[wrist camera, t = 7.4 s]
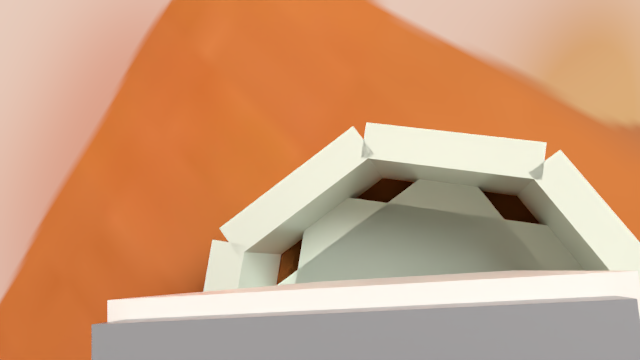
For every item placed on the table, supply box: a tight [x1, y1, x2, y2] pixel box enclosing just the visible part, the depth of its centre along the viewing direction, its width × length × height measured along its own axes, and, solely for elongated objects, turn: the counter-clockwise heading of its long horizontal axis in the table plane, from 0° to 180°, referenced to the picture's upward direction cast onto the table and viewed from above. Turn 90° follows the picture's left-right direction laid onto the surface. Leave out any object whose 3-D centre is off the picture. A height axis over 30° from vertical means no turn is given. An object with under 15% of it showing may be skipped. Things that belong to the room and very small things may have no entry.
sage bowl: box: [203, 122, 640, 292], centre depth 18 cm, size 13×13×4 cm
